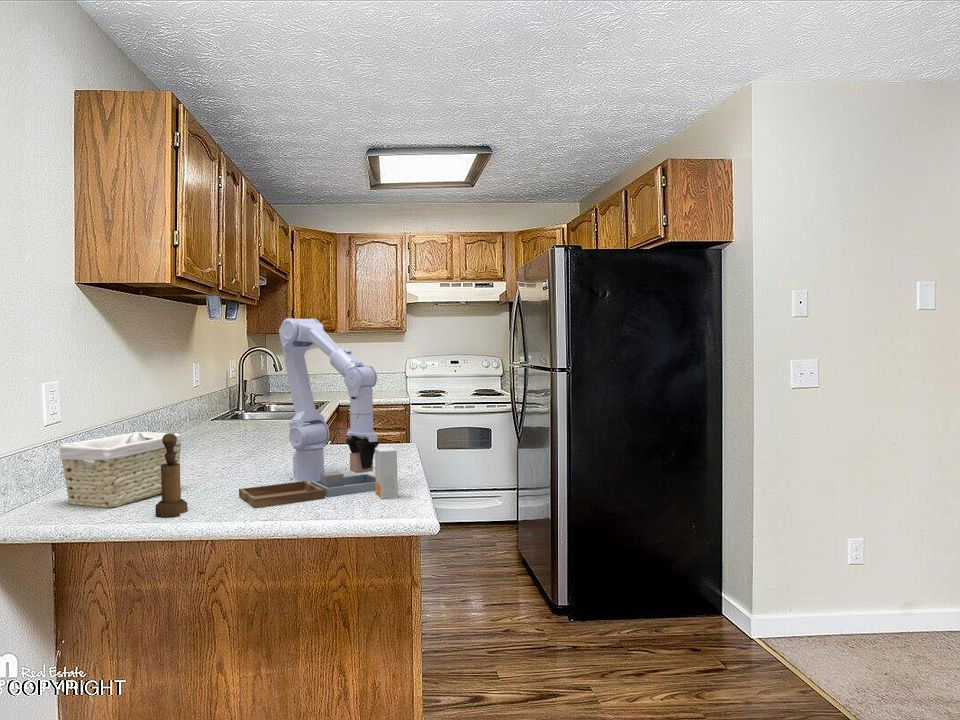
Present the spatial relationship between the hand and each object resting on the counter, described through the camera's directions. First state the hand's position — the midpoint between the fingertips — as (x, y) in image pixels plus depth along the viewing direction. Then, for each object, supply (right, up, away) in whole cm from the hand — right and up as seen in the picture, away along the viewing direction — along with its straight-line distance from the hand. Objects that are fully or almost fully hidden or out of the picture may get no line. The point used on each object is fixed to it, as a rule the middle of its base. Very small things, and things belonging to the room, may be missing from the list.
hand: (362, 466), depth 185 cm
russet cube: (0, -1, 0) cm, 1 cm away
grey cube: (-7, -5, -4) cm, 10 cm away
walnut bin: (-18, -6, -11) cm, 22 cm away
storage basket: (-58, -7, -5) cm, 59 cm away
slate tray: (-3, -6, -2) cm, 7 cm away
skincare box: (+7, -6, -10) cm, 14 cm away
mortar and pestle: (-39, -7, -23) cm, 46 cm away
